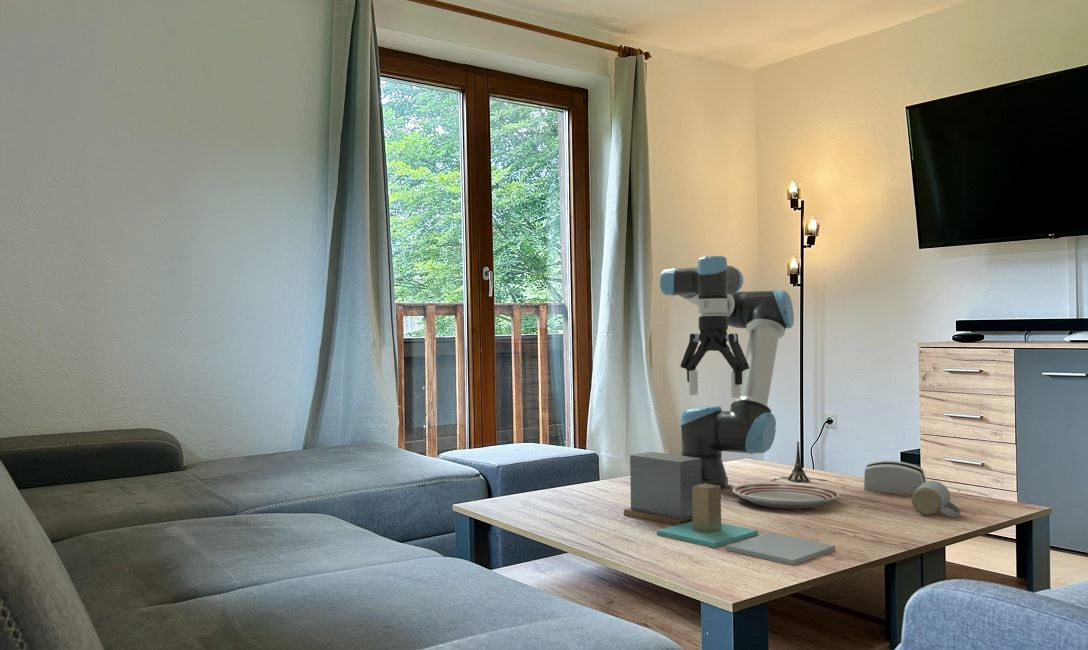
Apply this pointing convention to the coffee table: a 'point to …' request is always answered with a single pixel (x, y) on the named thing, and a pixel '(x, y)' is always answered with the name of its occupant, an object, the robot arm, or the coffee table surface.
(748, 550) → the grey pad
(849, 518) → the coffee table surface
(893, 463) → the napkin holder
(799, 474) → the eiffel tower figurine
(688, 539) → the teal pad
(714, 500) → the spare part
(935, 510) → the ceramic mug
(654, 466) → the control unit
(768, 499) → the dinner plate
